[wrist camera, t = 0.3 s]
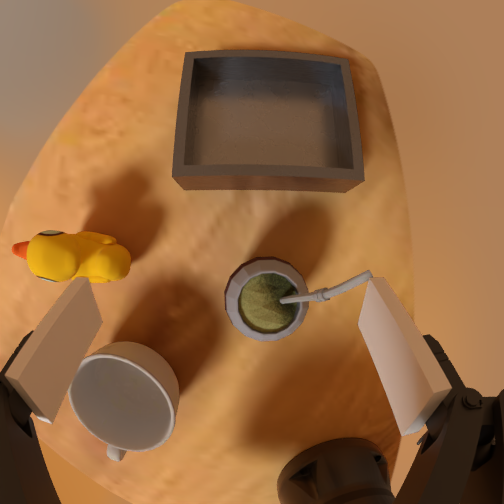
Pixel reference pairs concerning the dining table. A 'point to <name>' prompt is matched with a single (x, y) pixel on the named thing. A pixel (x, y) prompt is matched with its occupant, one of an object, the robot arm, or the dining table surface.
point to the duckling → (75, 256)
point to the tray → (267, 123)
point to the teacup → (126, 397)
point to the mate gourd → (274, 297)
